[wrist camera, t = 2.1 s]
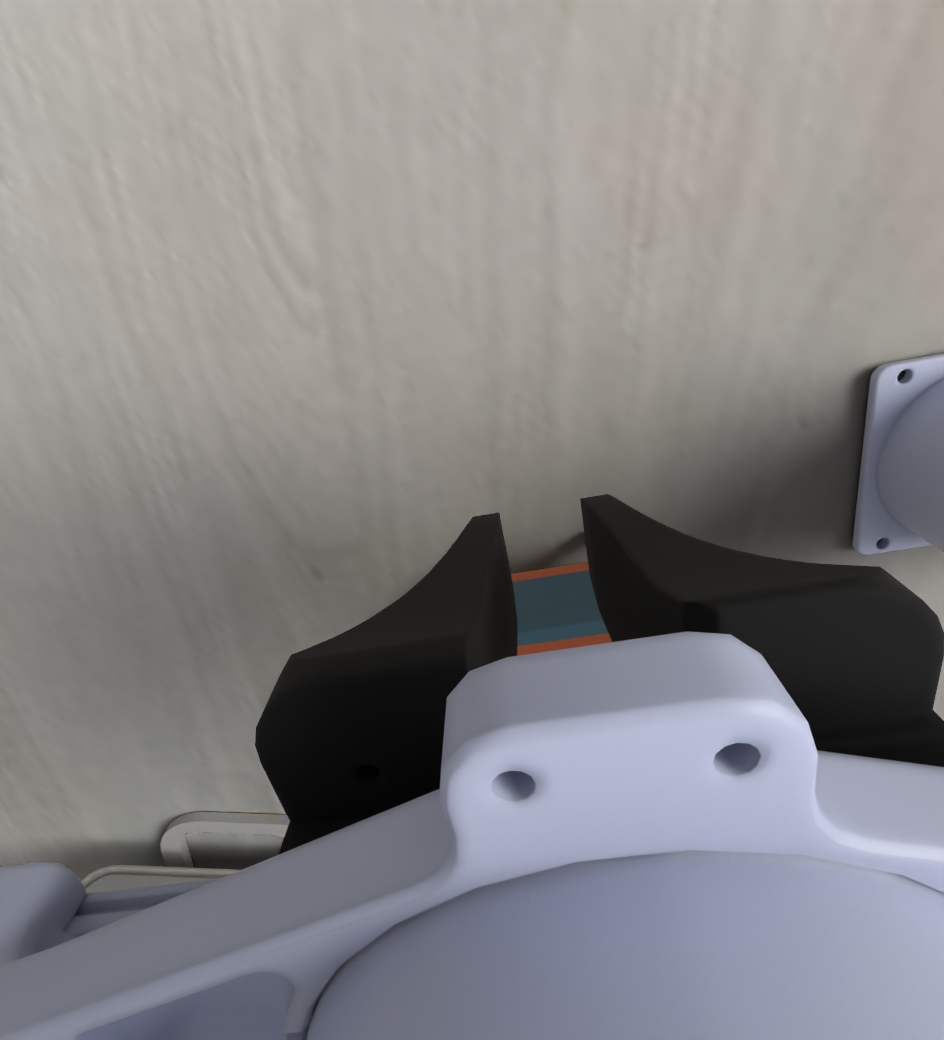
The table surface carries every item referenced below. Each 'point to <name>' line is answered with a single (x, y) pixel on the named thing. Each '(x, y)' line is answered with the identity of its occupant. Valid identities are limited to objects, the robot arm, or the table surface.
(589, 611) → the chair
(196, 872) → the network device
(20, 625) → the table surface
